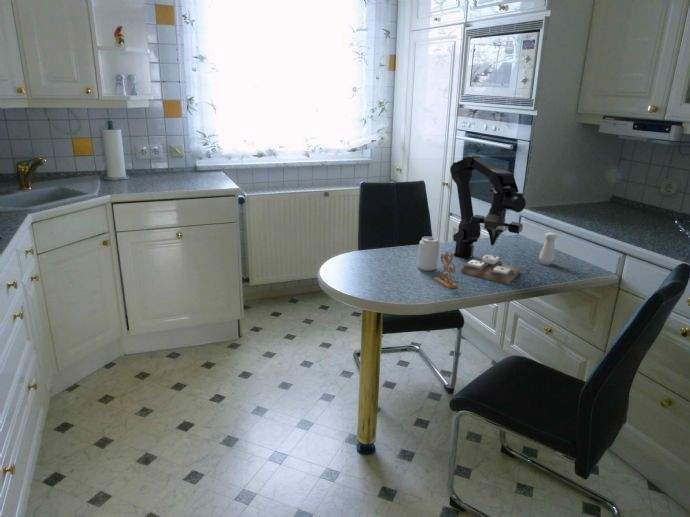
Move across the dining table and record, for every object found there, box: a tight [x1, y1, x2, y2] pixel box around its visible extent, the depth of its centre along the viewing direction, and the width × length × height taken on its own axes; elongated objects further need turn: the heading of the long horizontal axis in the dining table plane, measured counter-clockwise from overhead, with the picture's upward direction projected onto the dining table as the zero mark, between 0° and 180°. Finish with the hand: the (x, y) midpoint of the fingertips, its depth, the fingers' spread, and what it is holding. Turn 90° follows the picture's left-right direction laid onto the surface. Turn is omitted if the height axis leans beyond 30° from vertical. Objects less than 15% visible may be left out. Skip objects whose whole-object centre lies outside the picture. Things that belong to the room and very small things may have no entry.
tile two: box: [481, 253, 500, 264], centre depth 198 cm, size 5×5×2 cm
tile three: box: [466, 259, 485, 268], centre depth 194 cm, size 5×5×2 cm
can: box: [416, 236, 441, 272], centre depth 194 cm, size 8×8×12 cm
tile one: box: [493, 266, 511, 274], centre depth 189 cm, size 5×5×2 cm
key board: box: [460, 257, 521, 285], centre depth 195 cm, size 18×15×3 cm
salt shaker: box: [538, 231, 557, 266], centre depth 208 cm, size 6×6×13 cm
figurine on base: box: [433, 251, 458, 290], centre depth 180 cm, size 9×4×12 cm, turn 27°
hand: (492, 245), depth 197 cm, fingers closed
